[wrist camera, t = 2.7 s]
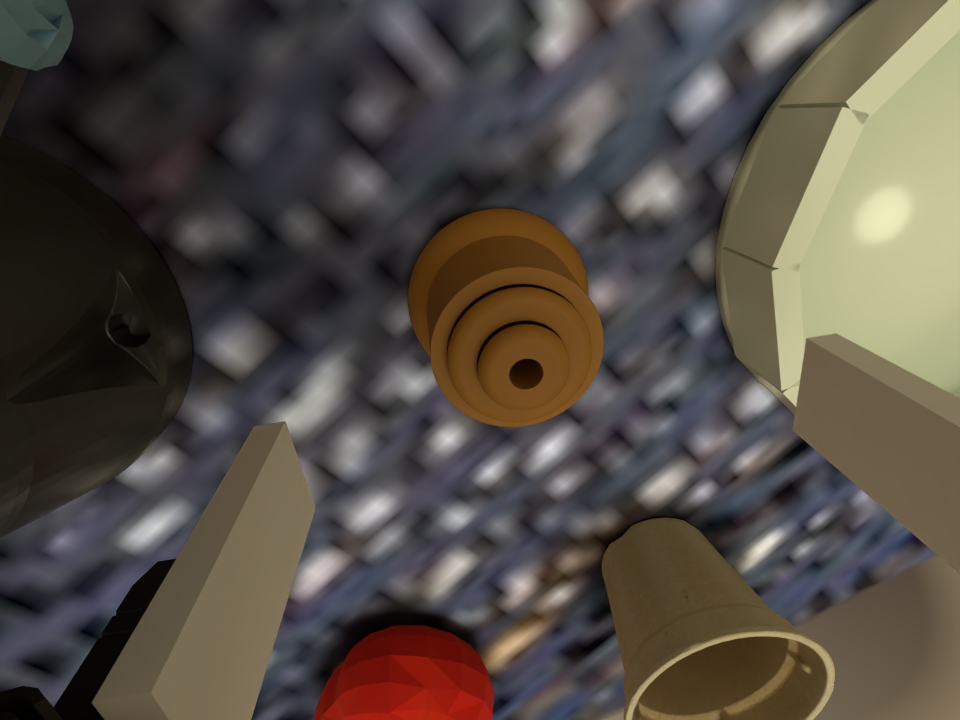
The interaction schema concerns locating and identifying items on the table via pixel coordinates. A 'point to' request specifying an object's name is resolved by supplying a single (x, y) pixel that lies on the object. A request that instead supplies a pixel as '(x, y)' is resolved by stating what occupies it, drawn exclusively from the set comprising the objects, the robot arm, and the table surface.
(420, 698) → the tomato
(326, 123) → the table surface
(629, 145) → the table surface
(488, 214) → the ornamental finial
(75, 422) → the robot arm
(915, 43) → the bowl
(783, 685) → the flower pot
